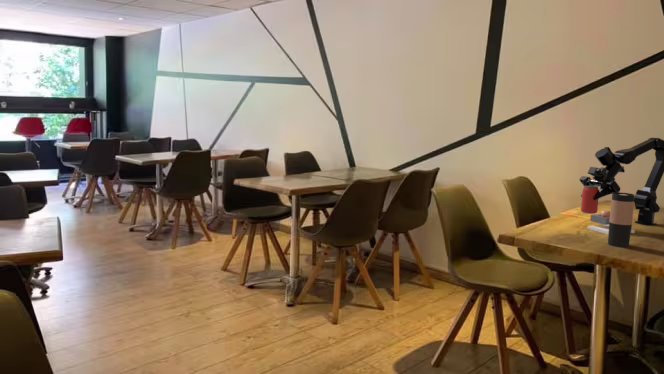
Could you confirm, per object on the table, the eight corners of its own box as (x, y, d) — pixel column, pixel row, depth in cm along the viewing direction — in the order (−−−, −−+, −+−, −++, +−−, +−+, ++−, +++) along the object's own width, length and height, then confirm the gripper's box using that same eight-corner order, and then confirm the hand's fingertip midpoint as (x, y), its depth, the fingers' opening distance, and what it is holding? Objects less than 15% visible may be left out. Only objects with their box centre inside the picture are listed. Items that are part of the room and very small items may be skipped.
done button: (605, 217, 242) (606, 210, 241) (612, 219, 238) (613, 211, 237) (598, 218, 240) (599, 210, 240) (605, 219, 236) (606, 212, 236)
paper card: (611, 226, 229) (611, 224, 229) (634, 232, 218) (635, 230, 217) (587, 228, 224) (587, 225, 224) (609, 234, 213) (610, 232, 213)
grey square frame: (604, 219, 245) (605, 213, 244) (620, 223, 236) (621, 217, 236) (590, 220, 242) (590, 214, 242) (605, 224, 234) (606, 218, 233)
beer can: (599, 214, 224) (601, 187, 222) (582, 213, 226) (585, 186, 224) (594, 211, 231) (597, 185, 229) (579, 210, 232) (581, 184, 230)
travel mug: (602, 242, 200) (607, 192, 197) (621, 242, 201) (626, 192, 198) (615, 247, 192) (620, 195, 190) (634, 247, 193) (639, 195, 190)
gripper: (584, 158, 235) (563, 183, 233) (617, 162, 217) (595, 189, 215) (596, 175, 238) (575, 199, 236) (630, 180, 221) (608, 206, 219)
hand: (587, 198), depth 227 cm, fingers closed on beer can, 7 cm apart
